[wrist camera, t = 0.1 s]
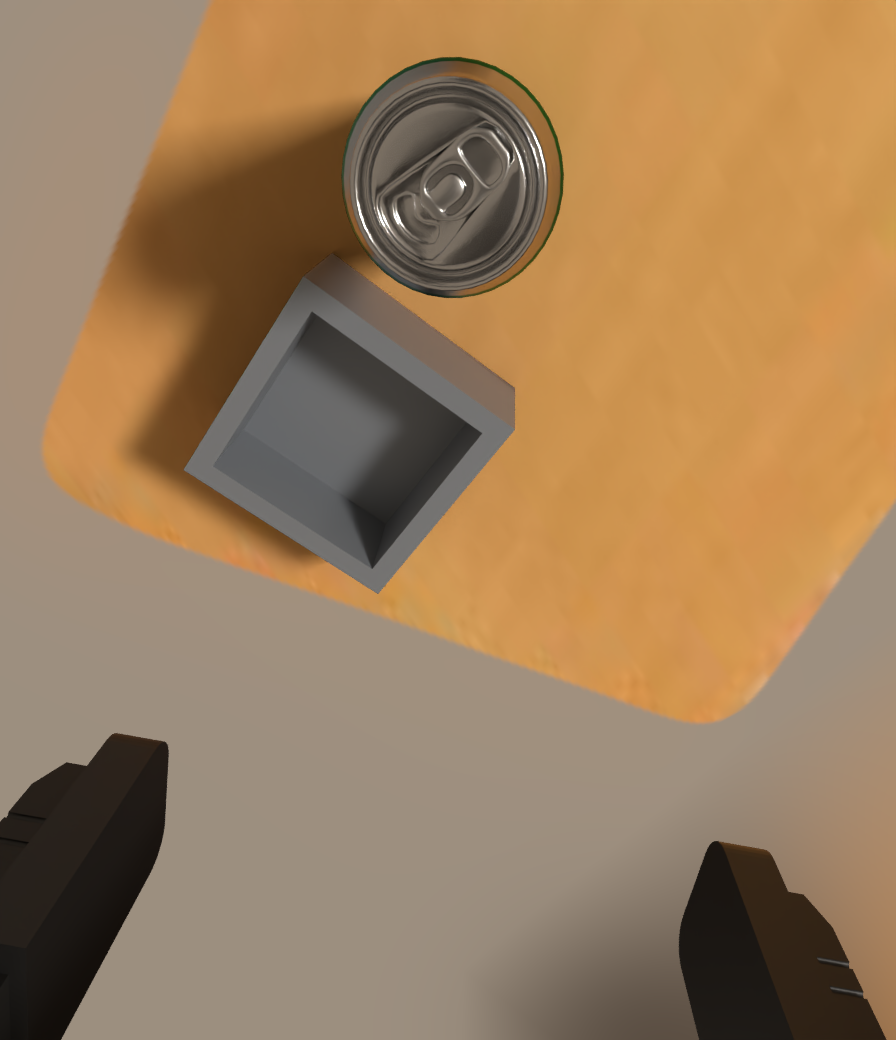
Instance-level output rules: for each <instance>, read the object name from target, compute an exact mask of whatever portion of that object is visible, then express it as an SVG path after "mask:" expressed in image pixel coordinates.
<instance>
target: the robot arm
mask: <svg viewBox="0 0 896 1040" xmlns="http://www.w3.org/2000/svg"><path fill="white" fill-rule="evenodd" d="M168 752H169V750H168V745H167V743H166V742H163V741H158V740H152V739H147V738H141V737H135V736H130V735H123V734H118V733H114V734H112V735H111V736H110V737H109V738H108V739H107V740H106V742H105V743H104V744H103V746H102V747H101V749H100V750H99V751H98V752H97V754H96V755H95V756H94V758H93V759H92V760H91V761H90V763H89V764H88V765H87V766H83V765H78V764H72V763H65V764H64V765H62V766H60V767H58V768H57V769H55V770H54V771H52V772H50V773H49V774H47V775H46V776H44V777H43V778H41V779H39V780H37V781H36V782H34V783H33V784H31V786H30V787H29V788H28V789H27V791H26V792H25V793H24V794H23V795H22V797H21V798H20V799H19V800H18V801H17V802H16V804H15V805H14V806H13V807H12V808H11V810H10V811H9V813H8V816H7V818H5V817H4V818H3V819H2V820H1V822H0V1040H61V1039H62V1037H63V1035H64V1033H65V1031H66V1029H67V1027H68V1026H69V1024H70V1022H71V1020H72V1018H73V1016H74V1014H75V1012H76V1011H77V1009H78V1007H79V1005H80V1003H81V1001H82V999H83V998H84V996H85V994H86V992H87V990H88V988H89V986H90V985H91V983H92V981H93V979H94V977H95V975H96V973H97V971H98V969H99V968H100V966H101V964H102V962H103V960H104V958H105V956H106V955H107V953H108V951H109V949H110V947H111V945H112V943H113V942H114V940H115V938H116V936H117V934H118V932H119V930H120V929H121V927H122V925H123V923H124V921H125V919H126V917H127V916H128V914H129V912H130V910H131V908H132V906H133V904H134V902H135V900H136V899H137V897H138V895H139V893H140V891H141V889H142V888H143V886H144V884H145V882H146V880H147V878H148V876H149V875H150V873H151V870H152V869H153V866H154V864H155V861H156V859H157V856H158V853H159V849H160V846H161V842H162V838H163V833H164V826H165V811H166V793H167V774H168V757H169V755H168V754H169V753H168ZM679 957H680V964H681V969H682V973H683V977H684V981H685V985H686V989H687V993H688V997H689V1001H690V1005H691V1009H692V1013H693V1017H694V1021H695V1025H696V1029H697V1033H698V1037H699V1040H886V1038H885V1036H884V1034H883V1032H882V1029H881V1027H880V1025H879V1023H878V1021H877V1019H876V1017H875V1015H874V1013H873V1011H872V1009H871V1007H870V1004H869V1002H868V1000H867V999H864V998H863V990H862V988H861V986H860V984H859V982H858V980H857V978H856V975H855V973H854V971H853V969H849V961H848V959H847V957H846V955H845V952H844V950H843V948H842V946H841V944H840V942H839V940H838V938H837V936H836V934H835V932H834V930H833V928H832V926H831V925H830V924H829V923H828V922H827V921H826V920H825V918H824V917H823V916H822V915H821V914H820V913H819V912H818V911H817V909H816V908H815V907H814V906H813V905H812V904H811V903H810V902H809V900H808V899H807V898H806V897H805V896H804V895H802V894H797V893H791V892H788V891H787V888H786V886H785V884H784V882H783V879H782V877H781V875H780V872H779V870H778V868H777V865H776V863H775V861H774V859H773V857H772V855H771V854H770V853H769V852H768V851H767V850H764V849H758V848H752V847H747V846H741V845H735V844H730V843H724V842H719V841H714V842H712V843H711V844H710V845H709V847H708V849H707V852H706V853H705V856H704V860H703V862H702V865H701V867H700V870H699V873H698V876H697V879H696V882H695V884H694V887H693V890H692V893H691V895H690V898H689V901H688V904H687V907H686V909H685V912H684V915H683V918H682V922H681V927H680V934H679Z"/></svg>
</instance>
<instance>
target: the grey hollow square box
mask: <svg viewBox="0 0 896 1040" xmlns="http://www.w3.org/2000/svg"><path fill="white" fill-rule="evenodd" d="M514 430H515V388H514V387H513V386H511V385H510V384H509V383H507V382H506V381H504V380H503V379H502V378H500V377H499V376H498V375H496V374H495V373H494V372H492V371H491V370H490V369H488V368H487V367H486V366H484V365H483V364H481V363H480V362H479V361H477V360H476V359H475V358H473V357H472V356H471V355H469V354H468V353H467V352H465V351H464V350H463V349H461V348H460V347H458V346H457V345H456V344H454V343H453V342H452V341H450V340H449V339H448V338H446V337H445V336H444V335H442V334H441V333H440V332H438V331H437V330H435V329H434V328H433V327H431V326H430V325H429V324H427V323H426V322H425V321H423V320H422V319H421V318H419V317H418V316H417V315H415V314H414V313H412V312H411V311H410V310H408V309H407V308H406V307H404V306H403V305H402V304H400V303H399V302H398V301H396V300H395V299H394V298H392V297H391V296H390V295H388V294H387V293H385V292H384V291H383V290H381V289H380V288H379V287H377V286H376V285H375V284H373V283H372V282H371V281H369V280H368V279H367V278H365V277H364V276H362V275H361V274H360V273H358V272H357V271H356V270H354V269H353V268H352V267H350V266H349V265H348V264H346V263H345V262H344V261H342V260H341V259H339V258H338V257H337V256H335V255H334V254H333V253H331V254H330V255H329V256H327V257H326V258H325V259H324V260H323V261H321V262H320V263H319V264H318V265H316V266H315V267H314V268H313V269H312V270H310V271H309V272H308V273H307V274H305V275H304V276H303V278H302V279H301V281H300V283H299V284H298V286H297V287H296V289H295V291H294V292H293V294H292V295H291V297H290V299H289V300H288V302H287V304H286V305H285V307H284V308H283V310H282V312H281V313H280V315H279V316H278V318H277V320H276V321H275V323H274V325H273V326H272V328H271V329H270V331H269V333H268V334H267V336H266V337H265V339H264V341H263V342H262V344H261V346H260V347H259V349H258V350H257V352H256V354H255V355H254V357H253V358H252V360H251V362H250V363H249V365H248V367H247V368H246V370H245V371H244V373H243V375H242V376H241V378H240V379H239V381H238V383H237V384H236V386H235V388H234V389H233V391H232V392H231V394H230V396H229V397H228V399H227V400H226V402H225V404H224V405H223V407H222V409H221V410H220V412H219V413H218V415H217V417H216V418H215V420H214V421H213V423H212V425H211V426H210V428H209V430H208V431H207V433H206V434H205V436H204V438H203V439H202V441H201V442H200V444H199V446H198V447H197V449H196V451H195V452H194V454H193V455H192V457H191V459H190V460H189V462H188V463H187V465H186V467H185V468H184V471H186V472H188V473H189V474H191V475H192V476H194V477H195V478H197V479H198V480H200V481H202V482H203V483H205V484H206V485H208V486H209V487H211V488H213V489H214V490H216V491H217V492H219V493H220V494H222V495H224V496H225V497H227V498H228V499H230V500H231V501H233V502H235V503H236V504H238V505H239V506H241V507H242V508H244V509H246V510H247V511H249V512H250V513H252V514H253V515H255V516H256V517H258V518H260V519H261V520H263V521H264V522H266V523H267V524H269V525H271V526H272V527H274V528H275V529H277V530H278V531H280V532H282V533H283V534H285V535H286V536H288V537H289V538H291V539H293V540H294V541H296V542H297V543H299V544H300V545H302V546H304V547H305V548H307V549H308V550H310V551H311V552H313V553H314V554H316V555H318V556H319V557H321V558H322V559H324V560H325V561H327V562H329V563H330V564H332V565H333V566H335V567H336V568H338V569H340V570H341V571H343V572H344V573H346V574H347V575H349V576H351V577H352V578H354V579H355V580H357V581H358V582H360V583H362V584H363V585H365V586H366V587H368V588H369V589H371V590H372V591H374V592H376V593H377V594H378V593H379V592H380V591H381V590H382V589H383V587H384V586H385V585H386V584H387V583H388V581H389V580H390V579H391V578H392V577H393V575H394V574H395V573H396V572H397V571H398V569H399V568H400V567H401V566H402V565H403V563H404V562H405V561H406V560H407V559H408V557H409V556H410V555H411V554H412V553H413V551H414V550H415V549H416V548H417V546H418V545H419V544H420V543H421V542H422V540H423V539H424V538H425V537H426V536H427V534H428V533H429V532H430V531H431V530H432V528H433V527H434V526H435V525H436V524H437V522H438V521H439V520H440V519H441V518H442V516H443V515H444V514H445V513H446V512H447V510H448V509H449V508H450V507H451V506H452V504H453V503H454V502H455V501H456V500H457V498H458V497H459V496H460V495H461V494H462V492H463V491H464V490H465V489H466V488H467V486H468V485H469V484H470V483H471V482H472V480H473V479H474V478H475V477H476V476H477V474H478V473H479V472H480V471H481V470H482V468H483V467H484V466H485V465H486V464H487V462H488V461H489V460H490V459H491V458H492V456H493V455H494V454H495V453H496V452H497V450H498V449H499V448H500V447H501V446H502V444H503V443H504V442H505V441H506V439H507V438H508V437H509V436H510V435H511V433H512V432H513V431H514Z"/></svg>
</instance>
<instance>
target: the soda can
mask: <svg viewBox="0 0 896 1040" xmlns="http://www.w3.org/2000/svg"><path fill="white" fill-rule="evenodd" d="M563 179H564V172H563V162H562V154H561V150H560V146H559V142H558V138H557V135H556V133H555V131H554V128H553V126H552V123H551V121H550V119H549V117H548V116H547V114H546V112H545V111H544V109H543V107H542V106H541V104H540V103H539V101H538V100H537V99H536V98H535V97H534V96H533V94H532V93H531V92H530V91H529V90H528V89H527V88H526V87H525V86H524V85H523V84H521V83H520V82H519V81H518V80H517V79H515V78H514V77H513V76H512V75H510V74H508V73H506V72H505V71H503V70H501V69H499V68H498V67H496V66H493V65H490V64H487V63H485V62H482V61H479V60H474V59H468V58H462V57H441V58H436V59H431V60H426V61H422V62H420V63H417V64H415V65H412V66H410V67H407V68H405V69H403V70H402V71H400V72H398V73H397V74H395V75H394V76H392V77H390V78H389V79H388V80H387V81H386V82H384V83H383V84H382V85H381V86H380V87H379V88H378V89H377V90H375V92H374V93H373V94H372V95H371V97H370V98H369V99H368V100H367V101H366V103H365V104H364V105H363V107H362V109H361V110H360V112H359V114H358V116H357V117H356V119H355V121H354V123H353V125H352V128H351V131H350V133H349V136H348V138H347V142H346V146H345V151H344V155H343V163H342V191H343V199H344V203H345V208H346V213H347V216H348V218H349V221H350V224H351V227H352V229H353V231H354V233H355V235H356V237H357V239H358V241H359V243H360V244H361V246H362V248H363V249H364V250H365V252H366V253H367V254H368V256H369V257H370V258H371V260H372V261H373V262H374V263H375V264H376V265H377V266H378V267H379V268H380V269H381V270H382V271H383V272H384V273H386V274H387V275H389V276H390V277H391V278H393V279H394V280H395V281H397V282H398V283H400V284H402V285H404V286H406V287H408V288H410V289H412V290H414V291H417V292H420V293H423V294H426V295H431V296H437V297H443V298H463V297H469V296H475V295H479V294H482V293H485V292H489V291H492V290H494V289H496V288H498V287H500V286H502V285H504V284H506V283H508V282H509V281H510V280H512V279H513V278H515V277H516V276H517V275H519V274H520V273H521V272H522V271H523V270H524V269H525V268H526V267H527V266H528V265H529V264H530V263H531V262H532V261H533V260H534V259H535V258H536V257H537V255H538V254H539V252H540V251H541V250H542V248H543V247H544V246H545V244H546V242H547V240H548V238H549V236H550V234H551V232H552V231H553V228H554V225H555V223H556V220H557V217H558V214H559V210H560V205H561V200H562V195H563Z"/></svg>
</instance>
